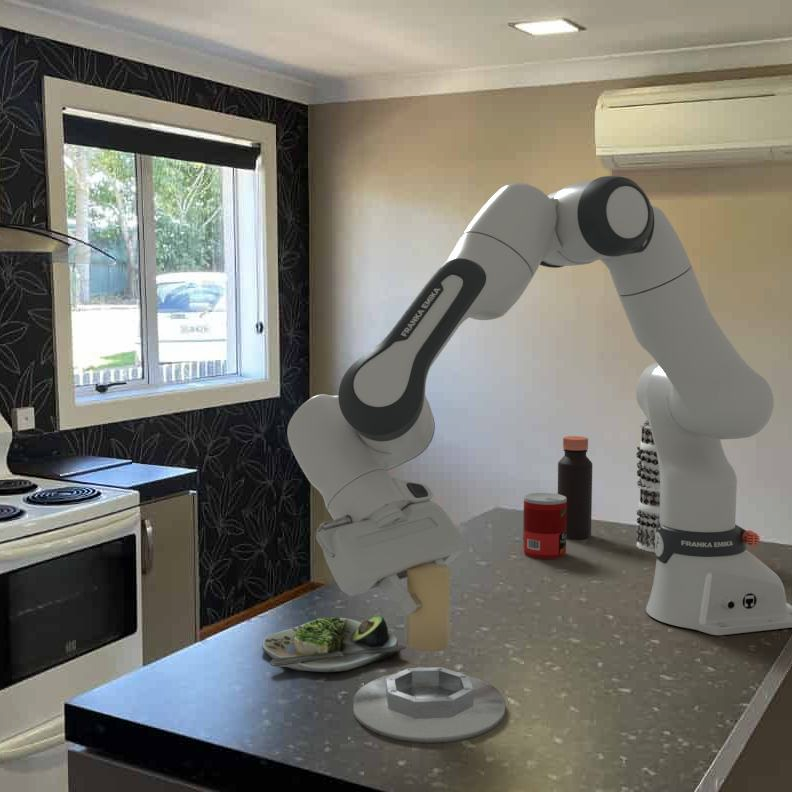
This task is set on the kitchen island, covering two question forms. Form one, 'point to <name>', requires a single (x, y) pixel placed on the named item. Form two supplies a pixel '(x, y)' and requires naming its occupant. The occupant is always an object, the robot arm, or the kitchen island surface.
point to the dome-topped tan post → (429, 607)
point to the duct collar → (429, 705)
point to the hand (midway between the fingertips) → (432, 604)
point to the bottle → (576, 486)
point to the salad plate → (332, 644)
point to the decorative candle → (647, 490)
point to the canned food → (545, 525)
